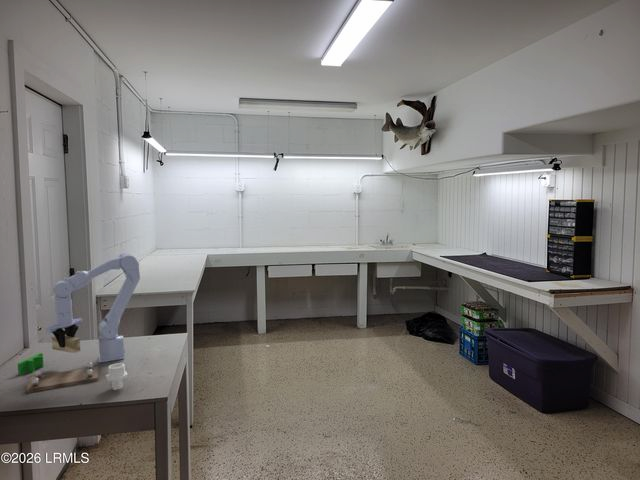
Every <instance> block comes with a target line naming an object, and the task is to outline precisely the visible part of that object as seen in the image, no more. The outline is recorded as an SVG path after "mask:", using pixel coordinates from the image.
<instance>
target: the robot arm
mask: <svg viewBox="0 0 640 480" xmlns="http://www.w3.org/2000/svg"><path fill="white" fill-rule="evenodd" d="M139 267H140V263H139V262H138V260H137V258H136V257H135V256H133V255H131V254H129V253H121V254H120V255H116V256H114V257H111V258H109V259H108V260H106V261H104V262H102V263H101V264H99V265H96V266H95V267H94V268H92V269H90V270H88V271H86V270H81V271H79V270H77V271H76V272H75V274H73V275H71V276H69V277H65V278H63V280H60V281H58V282H56V283H54V286H53V292H54V294H55V295H54V310H55V311H54V312H55V323H53V324H52V325H50V326H47V327H45V333H46V334H51V333H52V335H53V336H55V337H56V339H57V341H58V344H59V346H60V347H62V348H64V347H65V336H69V337H75V336H76V334H77V331H78V330H79V326H78V325H80V324H83V323H84V321H83V320H84V318H82V317H79V318H74V315H73V314H74V313H73V301H72V295H71V294H73V292H75V291H76V292H77V291H78V290H79V289H82V288H84V287H85V286H87V285H89V284H91V282H92V280H93V279H94V278H96V277H98V276H100V275H102V274H104V273H107V272H108V271H111V270H122V271H123V274H124V276H125V280H124V282H123V284H122V285H121V288H119V289H120V290H119V292H118V294H117V295H116V298H115V300H114V301H113V304H112V306H111V307H110V309H109V312H108V313H107V314H106V315H105V317H104V318H103V319H102V320H101V321H100V322H99V323H98V325H97V330H98V332H99V333H100V335H99V337H98V351H99V352H98V353H99V355H98V363H107V362H111V361H119V360H125V345H124V335H119V334H118V333H119V326H120V323H121V318H122V316H123V314H124V312H125V310H126V308H127V306H128V304H129V301H130V300H131V297H132V295H133V294H134V292H135V290H136V287H137V285H138V283H139V281H140V279H141V275H140V268H139Z"/></svg>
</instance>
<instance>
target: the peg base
mask: <svg viewBox="0 0 640 480" xmlns="http://www.w3.org/2000/svg"><path fill="white" fill-rule="evenodd" d="M34 372H35V373H34V374H35V376H30V379H29V380H28V383H27V385H26V389H25V393H26V394H28V393H33V392H34V393H35V392H39V391H44V390H45V391H47V390H52V389H57V388H63V387H68V386H76V385H80V384H86V383H93V382H98V381H99V375H100V373H99V366H98V365H97V366H94V362H93V361H89V362H88V363H87V367H86V368H80V369H79V368H78V369H73V370H72V369H71V370H66V371H60V372H53V373H46V374H42V369H41V370H40V369H38V370H35V371H34Z"/></svg>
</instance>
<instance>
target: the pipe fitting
mask: <svg viewBox="0 0 640 480" xmlns="http://www.w3.org/2000/svg"><path fill="white" fill-rule="evenodd" d="M125 366H126V365H125V364H124V363H123V362H117V363H112V364H109V366H108V367H107V370H108V372H107V373H108V374H105V378H106V380H107V382H111V387H112V390H114V391H117V389H118V390H121V389H122V388H123V380H124V379H126V378H129V377H128V376H129V375H128V372H127V371H126V368H125Z"/></svg>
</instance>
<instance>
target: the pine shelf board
mask: <svg viewBox="0 0 640 480" xmlns="http://www.w3.org/2000/svg"><path fill="white" fill-rule="evenodd" d="M51 346H52V347H51V349H52V350H56V351H60V352H66V353H72V354H75V353H78V352H81V339H80V337H75V336H74V337H69V336H66V335H65V347H64V348H62V347H60V346H59V344H58V341H57V339H56V337H55V336H54V335H53V336H51Z"/></svg>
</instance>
